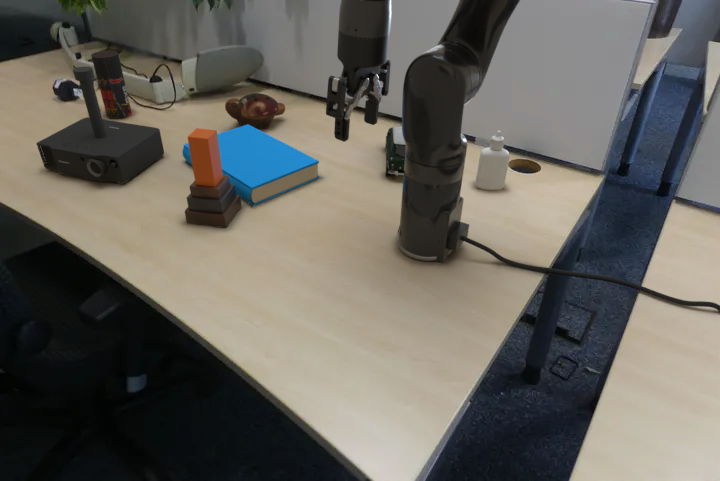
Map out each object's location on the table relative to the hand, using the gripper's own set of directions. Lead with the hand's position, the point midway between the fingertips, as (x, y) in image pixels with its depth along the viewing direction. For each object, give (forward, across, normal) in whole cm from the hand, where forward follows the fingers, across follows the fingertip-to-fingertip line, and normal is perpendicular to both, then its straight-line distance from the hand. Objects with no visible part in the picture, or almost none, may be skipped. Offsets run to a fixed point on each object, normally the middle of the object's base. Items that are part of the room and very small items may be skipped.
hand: (356, 131), depth 89 cm
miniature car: (+18, +26, +3) cm, 32 cm away
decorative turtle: (+20, +23, +43) cm, 53 cm away
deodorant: (+22, +8, +75) cm, 79 cm away
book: (+20, +4, +28) cm, 35 cm away
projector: (+21, -12, +54) cm, 60 cm away
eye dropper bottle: (+17, +27, -16) cm, 36 cm away
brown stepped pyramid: (+19, -12, +22) cm, 31 cm away
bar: (+12, -12, +22) cm, 28 cm away
